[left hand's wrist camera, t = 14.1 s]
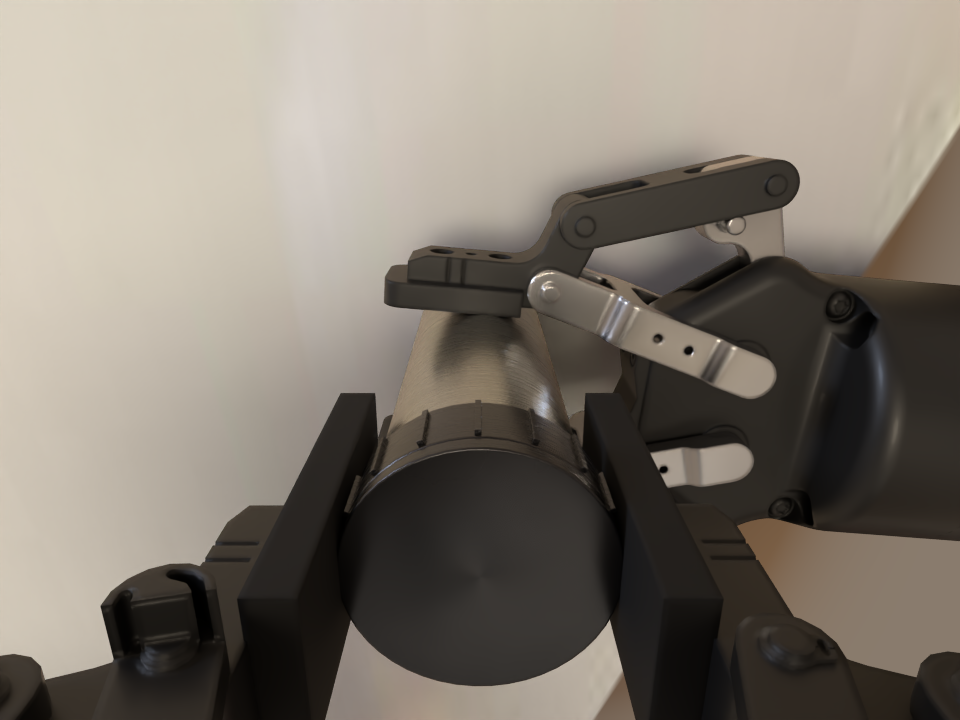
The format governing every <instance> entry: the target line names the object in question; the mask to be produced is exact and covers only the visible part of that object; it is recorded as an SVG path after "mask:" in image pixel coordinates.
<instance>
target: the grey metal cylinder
mask: <svg viewBox="0 0 960 720" xmlns="http://www.w3.org/2000/svg"><path fill="white" fill-rule="evenodd" d="M475 400H481V403H494V404H504V405H508V406H513V407H517V408H521V409H524V410H527V411H528V409H529V408H531V409H534V410H535V414H538V415H540V416H542V417H544V418H546V419H548V420H550V421H551V422H553V423H555V424H556V425H558V426H559V427H560V428H562V429H563V430H565V431H566V432H567V433H569V434H570V435H571V436H572V435H573V433H572V429H571V426H570V423H569V419H568V416H567V412H566V409H565V406H564V402H563V399H562V395H561V392H560V389H559V385H558V382H557V378H556V375H555V372H554V368H553V365H552V362H551V358H550V355H549V351H548V348H547V345H546V341H545V338H544V334H543V331H542V328H541V324H540V321H539V317H538V314H537V311H536V310H535V309H531V308H521V317H520V318H513V317H502V316H493V315H479V314H467V313H455V312H444V311H432V310H424V311H423V314H422V318H421V321H420V325H419V328H418V331H417V335H416V338H415V342H414V345H413V348H412V352H411V355H410V359H409V362H408V365H407V369H406V372H405V376H404V379H403V382H402V386H401V389H400V393H399V396H398V399H397V403H396V406H395V410H394V413H393V417H392V420H391V423H390V427H389V430H388V434H387V437H386V438H388V437H389V436H390V435H391V434H392V433H393V432H395V431H396V430H397V429H399V428H400V427H401V426H403V425H404V424H406V423H408V422H409V421H411V420H413V419H415V418H417V417H418V416H421V415H422V411H424V410H426V409H428V411H429V412H431V411H433V410H436V409H440V408H444V407H448V406H451V405H458V404H465V403H475Z"/></svg>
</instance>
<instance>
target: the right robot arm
mask: <svg viewBox="0 0 960 720" xmlns="http://www.w3.org/2000/svg"><path fill="white" fill-rule="evenodd" d="M799 185H800V177H799V173H798V171H797V169H796V168H795V166H794V165H793V164H791V163H790V162H787V161H784V160H779V159H771V158H764V157H757V156H749V155H736V156H731V157H727V158H722V159H718V160H713V161H709V162H704V163H700V164H695V165H691V166H686V167H682V168H677V169H673V170H668V171H664V172H659V173H655V174H650V175H646V176H641V177H637V178H632V179H628V180H623V181H619V182H614V183H610V184H605V185H601V186H596V187H592V188H587V189H583V190H578V191H574V192H569V193H566V194H564V195H562V196H561V197H559V198H558V199H557V200H556V202H555V203H554V205H553V208H552V213H551V217H550V219H549V221H548V223H547V225H546V227H545V229H544V231H543V233H542V235H541V237H540V239H539V240H538V242H537V243H536V244H535V245H534V246H533V247H532V248H530V249H528V250H526V251H524V252H520V253H508V252H497V251H486V250H474V249H463V248H450V247H441V246H428V247H425V248H422V249H418V250H415V251H413V252H412V254H411V256H410V258H409V260H408V265H395V266H392V267H391V268H390V270H389V271H388V273H387V275H386V276H385V291H384V303H385V304H387V305H389V306H392V307H398V308H409V309H421V310H432V311H444V312H455V313H467V314H479V315H493V316H502V317H513V318H520V317H521V308H531V309H535V310H536V311H537V312H539V313H541V314H544V315H547V316H549V317H552V318H554V319H557V320H560V321H562V322H565V323H567V324H570V325H573V326H575V327H578V328H580V329H583V330H586V331H588V332H591V333H593V334H596V335H598V336H600V337H601V338H603V339H604V340H605V341H607V342H608V343H610V344H612V345H614V346H616V347H618V348H620V355H621V365H622V375H621V377H620V379H619V381H618V384H617V386H616V388H615V390H614V392H613V393H620V395H621V396H622V398H623V400H624V402H625V404H626V406H627V408H628V410H629V412H630V414H631V416H632V418H633V420H634V422H635V424H636V426H637V428H638V430H639V432H640V434H641V436H642V438H643V440H644V442H645V444H646V446H647V448H648V450H649V452H650V454H651V456H652V458H653V460H654V462H655V464H656V466H657V468H658V470H659V472H660V474H661V476H662V477H663V479H664V481H665V483H666V485H667V487H668V489H669V491H670V493H671V495H672V497H673V499H674V501H675V503H676V504H712V505H714V506H715V507H716V508H718V509H719V510H720V511H722V512H723V513H724V514H726V515H727V516H728V517H730V518H731V519H732V520H733V521H734V522H735V524H736V525H740V524H743V523H745V522H749V521H752V520H757V519H763V518H773V519H778V520H782V521H786V522H790V523H793V524H797V525H801V526H804V527H808V528H812V529H816V530H822V531H833V532H846V533H860V534H873V535H886V536H900V537H912V538H926V539H939V540H952V541H960V286H958V285H947V284H936V283H923V282H912V281H901V280H890V279H878V278H867V277H856V276H845V275H834V274H823V273H816V272H811V271H809V270H808V269H806V268H805V267H804V266H803V265H801V264H800V263H799V262H797V261H795V260H793V259H790V258H787V257H785V250H784V232H783V215H782V207H784V206H786V205H787V204H789V203H790V202H791V201H792V200H793V198H794V197H795V195H796V194H797V192H798V189H799ZM692 227H695V229H696V230H697V232H698V233H699V234H701V235H702V236H704V237H706V238H708V239H709V240H711V241H713V242H715V243H718V244H734V245H735V247H736V249H737V251H738V255H737V256H735V257H734V258H732V259H730V260H728V261H726V262H725V263H723V264H721V265H719V266H717V267H715V268H714V269H712V270H710V271H708V272H706V273H705V274H703V275H701V276H699V277H697V278H695V279H694V280H692V281H690V282H688V283H686V284H685V285H683V286H681V287H679V288H677V289H675V290H674V291H672V292H670V293H668V294H666V295H664V296H662V295H659V294H656V293H654V292H651V291H649V290H646V289H644V288H641V287H639V286H636V285H634V284H631V283H629V282H626V281H624V280H621V279H619V278H616V277H614V276H611V275H607V274H600V273H597V272H595V271H592V270H590V269H587V268H585V265H586V263H587V262H588V260H589V258H590V256H591V254H592V252H593V250H594V248H599V247H604V246H608V245H613V244H618V243H622V242H627V241H632V240H636V239H641V238H646V237H650V236H655V235H659V234H664V233H669V232H673V231H678V230H683V229H687V228H692ZM584 411H585V410H584ZM584 411H580V412H577V413H575V414H574V415H572V417H571V418H570V419H569V423H570V426H571V429H572V433H573V434H575V435H577V436H578V438H579V442H580V445H581V446H582V443H583V427H584ZM392 417H393V415H390V416H387V417H386V418H385V419H384V421H383V424H382V428H381V431H380V434H379V437H378V444H379V440H380V439H381V438H382V437H383V436H384V437H385V438H386V437H387V434H388V430H389V427H390V423H391V420H392Z"/></svg>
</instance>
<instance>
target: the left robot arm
mask: <svg viewBox="0 0 960 720" xmlns="http://www.w3.org/2000/svg"><path fill="white" fill-rule="evenodd" d="M377 447H378V433H377V416H376V400H375V393H341V394H340V396H339V398H338V400H337V402H336V404H335V406H334V408H333V410H332V412H331V414H330V416H329V418H328V420H327V422H326V424H325V425H324V427H323V429H322V431H321V433H320V435H319V437H318V439H317V441H316V443H315V445H314V447H313V449H312V451H311V453H310V455H309V457H308V459H307V461H306V463H305V465H304V467H303V469H302V471H301V473H300V475H299V477H298V479H297V481H296V483H295V485H294V487H293V489H292V491H291V493H290V495H289V497H288V499H287V501H286V503H285V505H284V506H248V507H247V508H246V509H245V510H243V511H242V512H241V513H239V514H238V515H237V516H235V517H234V518H233V519H231V520H230V521H229V522H228V523H227V524H226V526H225V527H224V529H223V531H222V532H221V534H220V535H219V537H218V539H217V540H216V544H215V546H213V547H212V548H211V550H210V552H209V553H208V555H207V556H206V558H205V559H206V560H205V562H203V563H202V564H201V566H197V565H193V564H190V563H189V564H168V565H164V566H160V567H156V568H152V569H148V570H146V571H144V572H142V573H139V574H137V575H135V576H133V577H131V578H129V579H127V580H126V581H124V582H123V583H122V584H120V585H119V586H118V587H116V588H115V589H114V590H112V591H111V592H110V594H109V595H108V596H107V598H106V599H105V601H104V602H103V603H102V605H101V610H102V614H103V618H104V622H105V626H106V630H107V634H108V638H109V642H110V646H111V650H112V654H113V658H114V660H113V662H112V663H109V664H106V665H103V666H99V667H96V668H93V669H89V670H85V671H80V672H76V673H72V674H68V675H64V676H60V677H55V678H51V679H47V680H45V678H44V675H43V672H42V669H41V666H40V665H39V664H38V663H37V662H36V661H35V660H34V659H32V658H31V657H27V656H22V655H16V654H11V655H3V656H0V720H325V718H326V714H327V710H328V706H329V702H330V698H331V694H332V691H333V687H334V683H335V679H336V675H337V671H338V667H339V663H340V659H341V656H342V652H343V648H344V644H345V640H346V636H347V632H348V628H349V624H350V621H351V619H350V617H349V615H348V613H347V611H346V609H345V607H344V604H343V602H342V599H341V593H340V583H339V573H338V560H337V548H338V544H339V539H340V535H341V532H342V530H343V527H344V524H345V521H346V517H343V516H342V514H343V511H344V508H345V505H346V502H347V500H348V497H349V494H350V491H351V488H352V485H353V482H354V479H355V477H356V475H358V476H361V474H362V472H363V469H364V468H365V466H366V464H367V462H368V461H369V459H370V457H371V456H372V455H373V453H374V452H375V451H376V449H377ZM582 448H583V449H584V450H585V451H586V452H587V454H588V455H589V457H590V458H591V460H592V461H593V463H594V465H595V466H596V468H597V471H598V473H601V472H603V473H604V475H605V478H606V481H607V484H608V487H609V490H610V492H611V495H612V498H613V501H614V504H615V507H616V510H617V513H615V514H613V516H614V519H615V522H616V525H617V528H618V531H619V534H620V537H621V541H622V545H623V549H624V556H623V569H622V580H621V590H620V598H619V601H618V603H617V606H616V608H615V611H614V613H613V614H612V616H611V618H610V622H611V626H612V630H613V634H614V638H615V641H616V645H617V649H618V653H619V657H620V661H621V665H622V669H623V672H624V676H625V680H626V684H627V688H628V692H629V696H630V700H631V703H632V707H633V711H634V715H635V719H636V720H960V653H955V652H942V653H937V654H931V655H930V656H929V657H927V658H926V659H925V660H924V661H923V662H922V663H921V665H920V668H919V671H918V675H917V678H916V677H912V676H908V675H904V674H900V673H895V672H891V671H887V670H883V669H879V668H875V667H870V666H867V665H863V664H860V663H857V662H854V661H851V660H848V659H846V657H845V655H844V654H843V652H842V651H841V649H840V647H839V646H838V644H837V643H836V642H835V641H834V640H833V639H832V638H830V637H829V636H828V635H827V634H826V633H824V632H823V631H822V630H821V629H819V628H817V627H815V626H814V625H812V624H810V623H808V622H806V621H804V620H802V619H799V618H796V617H794V616H793V614H792V613H791V611H790V610H789V608H788V607H787V605H786V603H785V602H784V600H783V599H782V597H781V595H780V594H779V592H778V591H777V589H776V588H775V586H774V584H773V583H772V581H771V580H770V578H769V576H768V575H767V573H766V572H765V570H764V568H763V567H762V565H761V564H760V562H759V560H756V556H755V554H754V552H753V551H752V549H751V548H750V546H749V545H748V544H746V542H745V538H744V537H743V535H742V533H741V532H740V530H739V529H738V527H737V525H736V524H735V522H734V521H733V520H732V519H731V518H730V517H728V516H727V515H726V514H724V513H723V512H722V511H720V510H719V509H718V508H716V507H715V506H714V505H712V504H676V503H675V501H674V499H673V497H672V495H671V493H670V491H669V489H668V487H667V485H666V483H665V481H664V479H663V477H662V476H661V474H660V472H659V470H658V468H657V466H656V464H655V462H654V460H653V458H652V456H651V454H650V452H649V450H648V448H647V446H646V444H645V442H644V440H643V438H642V436H641V434H640V432H639V430H638V428H637V426H636V424H635V422H634V420H633V418H632V416H631V414H630V412H629V410H628V408H627V406H626V404H625V402H624V400H623V398H622V396H621V395H620V393H586V394H585V411H584V427H583V443H582Z"/></svg>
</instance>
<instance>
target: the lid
mask: <svg viewBox="0 0 960 720" xmlns="http://www.w3.org/2000/svg"><path fill="white" fill-rule="evenodd" d="M615 513H617V510H616V507H615V504H614V501H613V498H612V495H611V492H610V490H609V487H608V484H607V481H606V478H605V475H604V473H603V472H601V473H598V471H597V468H596V466H595V465H594V463H593V461H592V460H591V458H590V457H589V455H588V454H587V452H586V451H585V450H584V449H583V448H582V446H581V445H580V442H579V438H578V436H577V435H575V434H573V435H572V436H571V435H570V434H569V433H567V432H566V431H565V430H563V429H562V428H560V427H559V426H558V425H556V424H555V423H553V422H551V421H550V420H548V419H546V418H544V417H542V416H540V415H538V414H535V410H534V409H531V408H529V409H528V411H527V410H524V409H521V408H517V407H513V406H508V405H504V404H494V403H481V400H475V403H465V404H458V405H451V406H448V407H444V408H440V409H436V410H433V411H431V412H429V411H428V409H426V410H424V411H422V415H421V416H418V417H417V418H415V419H413V420H411V421H409V422H408V423H406V424H404V425H403V426H401V427H400V428H399V429H397V430H396V431H395V432H393V433H392V434H391V435H390V436H389V437H388V438H385V437H384V436H383V437H382V438H381V439H380V440H379V444H378V447H377V449H376V451H375V452H374V453H373V455H372V456H371V457H370V459H369V461H368V462H367V464H366V466H365V468H364V469H363V472H362V474H361V476H358V475H356V477H355V479H354V482H353V485H352V488H351V491H350V494H349V497H348V500H347V502H346V505H345V508H344V511H343V514H342V516H343V517H346V521H345V524H344V527H343V530H342V532H341V535H340V539H339V544H338V548H337V560H338V573H339V583H340V593H341V599H342V602H343V604H344V607H345V609H346V611H347V613H348V615H349V617H350V619H351V620H352V622H353V623H354V625H355V627H356V628H357V629H358V631H359V632H360V633H361V634H362V635H363V637H364V638H365V639H366V640H367V641H368V642H369V643H370V644H371V645H372V646H373V647H374V648H375V649H376V650H377V651H379V652H380V653H381V654H383V655H384V656H385V657H387V658H388V659H390V660H391V661H392V662H394V663H396V664H398V665H400V666H401V667H403V668H405V669H407V670H409V671H411V672H414V673H416V674H418V675H421V676H423V677H427V678H430V679H433V680H437V681H441V682H446V683H451V684H456V685H468V686H494V685H503V684H510V683H515V682H519V681H524V680H527V679H531V678H534V677H537V676H540V675H542V674H545V673H547V672H549V671H551V670H554V669H556V668H558V667H559V666H561V665H563V664H564V663H566V662H568V661H570V660H571V659H573V658H574V657H575V656H577V655H578V654H579V653H580V652H582V651H583V650H584V649H585V648H586V647H587V646H589V645H590V644H591V643H592V642H593V641H594V640H595V639H596V638H597V636H598V635H599V634H600V632H601V631H602V630H603V629H604V627H605V626H606V625H607V623H608V621H609V620H610V618H611V616H612V614H613V613H614V611H615V608H616V606H617V603H618V601H619V598H620V590H621V580H622V569H623V556H624V549H623V545H622V541H621V537H620V534H619V531H618V528H617V525H616V522H615V519H614V516H613V514H615Z"/></svg>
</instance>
